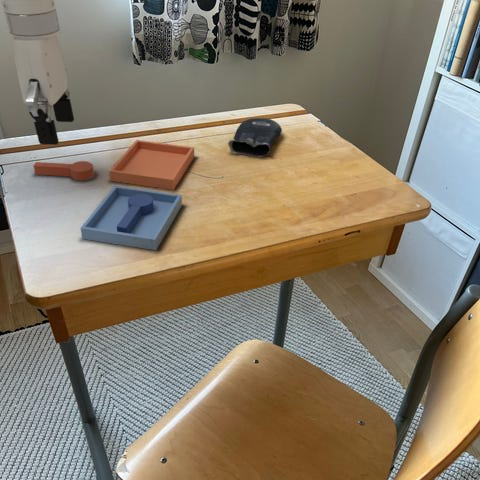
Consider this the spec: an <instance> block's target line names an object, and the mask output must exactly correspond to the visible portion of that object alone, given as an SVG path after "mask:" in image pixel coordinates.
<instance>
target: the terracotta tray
mask: <svg viewBox="0 0 480 480" xmlns="http://www.w3.org/2000/svg"><path fill="white" fill-rule="evenodd" d="M194 158H195V147H193V146H186V145H178V144H172V143H163V142H155V141H148V140H140V139H136V140H135V141H134V142H133V143H132V144H131V145H130V146H129V148H127V150H126V151H125V152H124V153H123V154H122V155H121V156H120V157H119V159H118V160H117V161H116V163H115V164H114V165H113V166H112V167H111V169H109V171H108V172H109V178H110V181H111V182H117V183H122V184H130V185H137V186H144V187H150V188H157V189H158V188H159V189H165V190H172V191H174V190H175V189H176V187H177V185H178V184H179V182H180V181H181V179H182V178H183V176H184V174H185V172H186V171H187V169H188V168H189V166H190V164H191V163H192V162H193V160H194Z"/></svg>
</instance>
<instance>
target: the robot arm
mask: <svg viewBox="0 0 480 480" xmlns="http://www.w3.org/2000/svg"><path fill="white" fill-rule="evenodd" d="M0 1H1V6H2V10H3V13H4V17H5V21H6V26H7V29H8V32H9V36H10V37H11V38H12V48H13V57H14V62H15V68H16V72H17V77H18V83H19V87H20V91H21V96H22V101H23V103H24V105H26V107H27V109H28V110H29V112H28V113H29V115H30V117H31V121H32V122H33V125H34V128H35V132H36V136H37V139H38V143H39V144H40V145H48V146H49V145H52V146H53V145H54V146H57V145H58V144H59V142H60V141H59V137H58V132H57V128H56V123H55V120H56V122H58V123H73V122H74V121H75V118H74V112H73V111H74V110H73V107H72V102H71V98H70V96H71V94H70V91H69V90H68V86H69V82H68V81H69V80H68V75H67V69H66V65H65V61H64V55H63V53H62V48H61V44H60V40H59V35H60V34H61V30H60V23H59V18H58V14H57V9H56V3H55V0H0ZM52 107H53V112H54V117H55V120H54V119H52ZM42 108H45V110H43V109H42Z"/></svg>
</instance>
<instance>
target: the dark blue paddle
mask: <svg viewBox="0 0 480 480" xmlns="http://www.w3.org/2000/svg"><path fill="white" fill-rule="evenodd" d="M128 207H129V210H128V211H127V213H126V214H125V215H124V217H123V218H122V220H121V221H120V222H119V224H118V225H117V232H123V233H129V234H130V233H131V231H132V230H133V228H134V227H135V225H136V224H137V222H138V221H139V219H140V218H141V216H143V215H148V214H150V213H152V212H153V210H154V205H153V198H152V197H151V196H150V195H147V194H136V195H132V196H131V197H129V199H128Z"/></svg>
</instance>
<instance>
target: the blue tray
mask: <svg viewBox="0 0 480 480" xmlns="http://www.w3.org/2000/svg"><path fill="white" fill-rule="evenodd" d="M136 194H147V195H150V196H151V197H152V198H153V205H154V210H153V212H152V213H150V214H148V215H143V216H141V218H140V219H139V221H138V222H137V224H136V225H135V227H134V228H133V230H132V231H131V233H130V234H129V233H123V232H117V225H118V224H119V222H120V221H121V220H122V218H123V217H124V215H125V214H126V213H127V211H128V210H129V207H128V199H129V197H131V196H132V195H136ZM182 206H183V195H182V194H177V193H171V192H163V191H155V190H149V189H143V188H135V187H128V186H123V185H113V187H112V188H111V190H109V192H108V193H107V194H106V196H105V197H104V198H103V199H102V201H101V202H100V203H99V204H98V206H97V207H96V208H95V210H94V211H93V212H92V213H91V214H90V215H89V216H88V218H86V221H85V222H83V224H82V225H81V227H79V228H80V233H81V238H82V240H89V241H94V242H101V243H106V244H114V245H120V246H126V247H133V248H139V249H145V250H152V251H157V250H158V248H159V246H160V244H161V243H162V241H163V240H164V237H165V236H166V234H167V233H168V231H169V229H170V227H171V226H172V224H173V222H174V220H175V218H176V217H177V216H178V213H179V211H180V210H181V208H182Z"/></svg>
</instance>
